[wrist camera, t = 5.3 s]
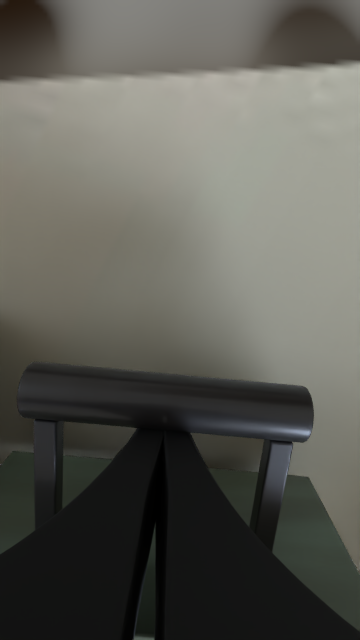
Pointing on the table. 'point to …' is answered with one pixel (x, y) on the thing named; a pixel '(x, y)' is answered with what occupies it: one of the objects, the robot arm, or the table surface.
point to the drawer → (238, 486)
